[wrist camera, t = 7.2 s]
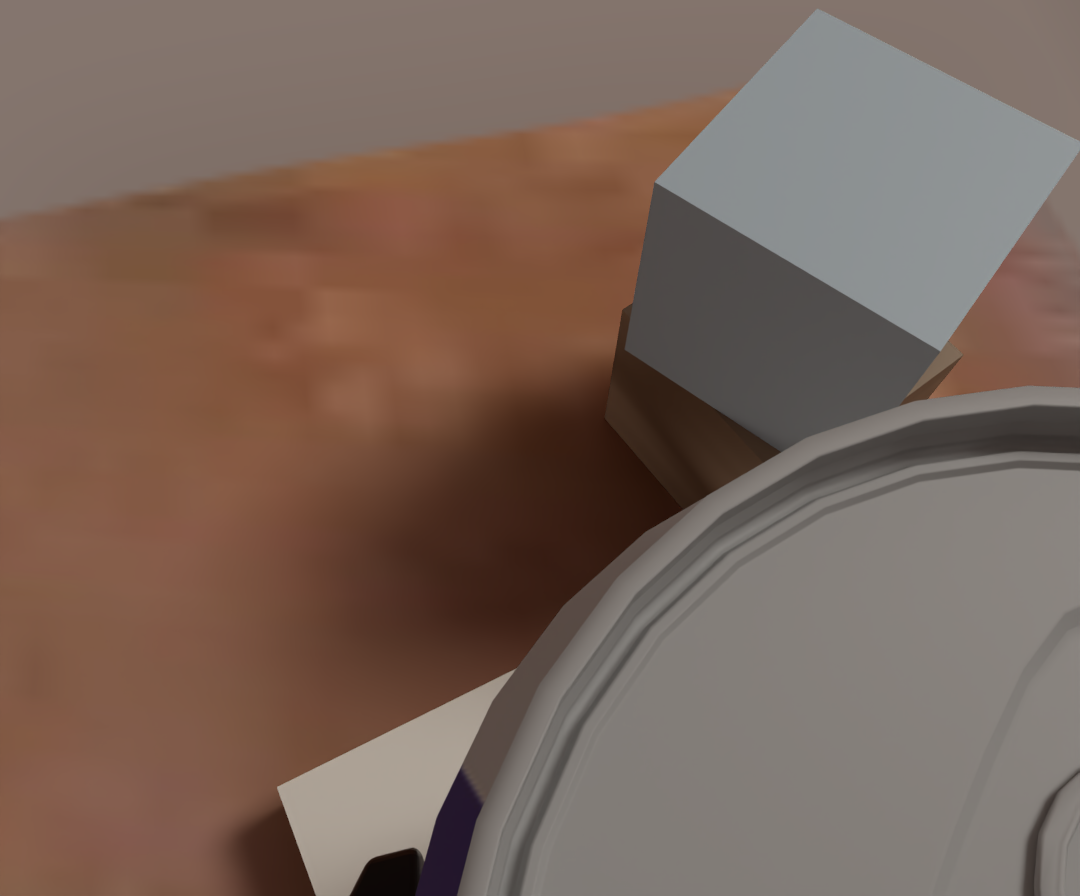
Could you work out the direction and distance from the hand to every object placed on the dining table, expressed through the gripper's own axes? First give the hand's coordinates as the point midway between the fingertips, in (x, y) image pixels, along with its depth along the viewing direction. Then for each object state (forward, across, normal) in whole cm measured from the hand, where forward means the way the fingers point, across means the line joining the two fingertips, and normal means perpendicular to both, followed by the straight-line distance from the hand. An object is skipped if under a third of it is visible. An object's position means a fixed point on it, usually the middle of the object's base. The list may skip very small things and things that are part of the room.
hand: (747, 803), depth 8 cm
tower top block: (+8, -4, -2) cm, 9 cm away
